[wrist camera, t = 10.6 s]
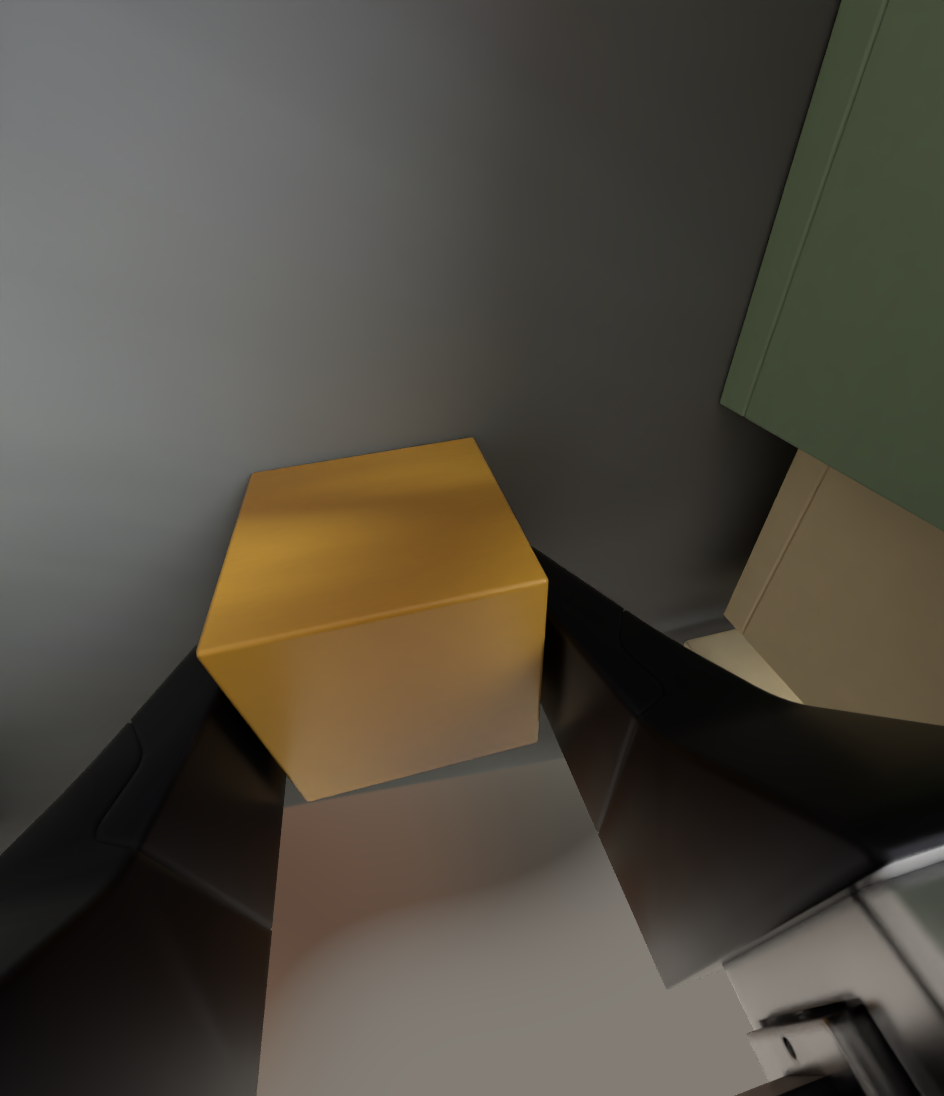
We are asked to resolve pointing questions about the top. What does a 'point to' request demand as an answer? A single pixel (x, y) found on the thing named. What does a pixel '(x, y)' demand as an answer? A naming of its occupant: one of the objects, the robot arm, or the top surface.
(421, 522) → the block
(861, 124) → the cabinet
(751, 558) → the drawer
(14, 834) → the top surface
